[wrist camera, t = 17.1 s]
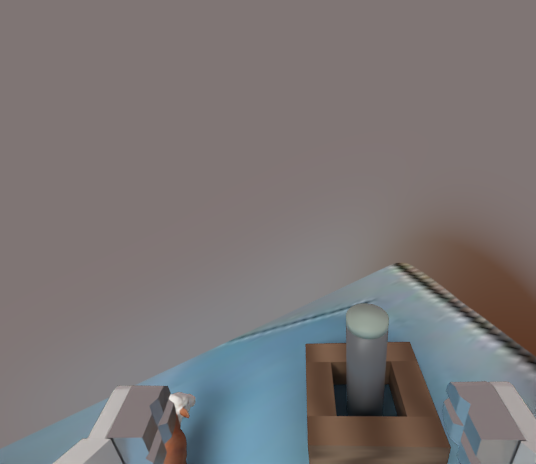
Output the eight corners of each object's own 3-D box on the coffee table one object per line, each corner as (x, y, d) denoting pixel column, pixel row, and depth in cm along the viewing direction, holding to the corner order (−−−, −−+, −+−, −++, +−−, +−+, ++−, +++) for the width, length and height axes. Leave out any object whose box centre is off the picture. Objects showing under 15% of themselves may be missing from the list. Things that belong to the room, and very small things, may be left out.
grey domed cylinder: (349, 426, 38) (348, 331, 32) (344, 395, 41) (343, 304, 35) (386, 427, 37) (393, 330, 31) (378, 395, 41) (383, 302, 35)
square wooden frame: (310, 469, 34) (307, 445, 33) (307, 365, 46) (305, 343, 44) (445, 472, 33) (450, 447, 31) (407, 364, 44) (409, 341, 43)
